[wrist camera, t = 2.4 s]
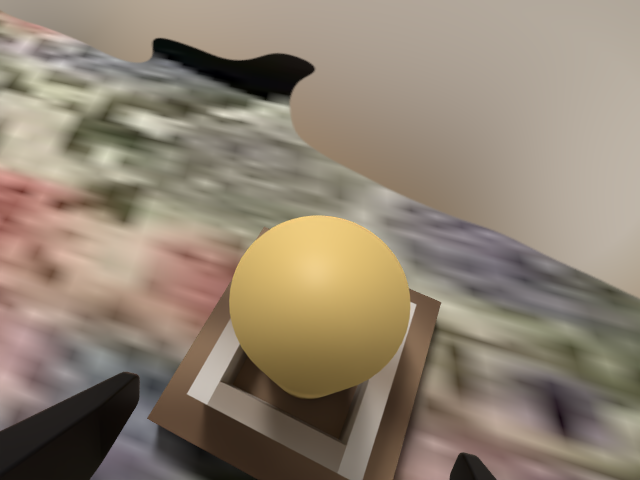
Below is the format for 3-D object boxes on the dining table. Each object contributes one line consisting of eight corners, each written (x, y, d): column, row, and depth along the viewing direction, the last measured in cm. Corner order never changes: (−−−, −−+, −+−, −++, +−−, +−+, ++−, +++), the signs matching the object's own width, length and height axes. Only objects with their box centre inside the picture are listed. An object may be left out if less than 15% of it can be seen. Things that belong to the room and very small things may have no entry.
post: (330, 414, 16) (376, 430, 7) (253, 376, 17) (192, 338, 7) (360, 334, 18) (430, 253, 9) (290, 302, 19) (281, 193, 9)
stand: (368, 532, 16) (393, 576, 12) (159, 417, 17) (116, 421, 13) (431, 308, 21) (463, 286, 17) (266, 237, 22) (259, 201, 18)
